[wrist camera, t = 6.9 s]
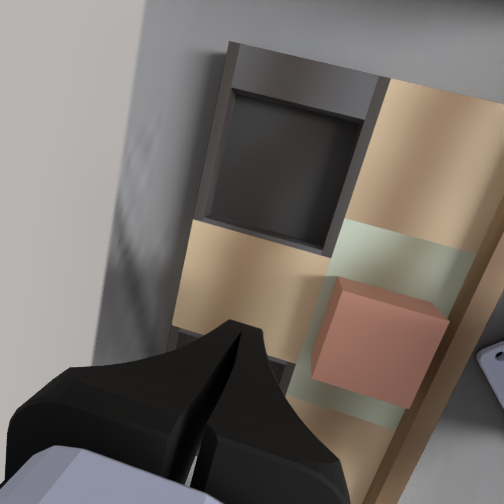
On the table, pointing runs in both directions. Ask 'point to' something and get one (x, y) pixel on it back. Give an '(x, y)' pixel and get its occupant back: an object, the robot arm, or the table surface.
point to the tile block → (376, 342)
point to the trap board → (345, 235)
